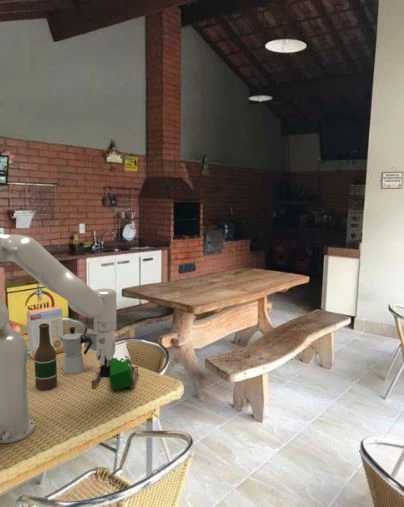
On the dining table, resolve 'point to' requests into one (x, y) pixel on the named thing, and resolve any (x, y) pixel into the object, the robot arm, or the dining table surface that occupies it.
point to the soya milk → (121, 368)
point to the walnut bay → (97, 377)
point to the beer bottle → (45, 361)
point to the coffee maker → (74, 351)
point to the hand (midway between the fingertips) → (105, 376)
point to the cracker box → (55, 327)
